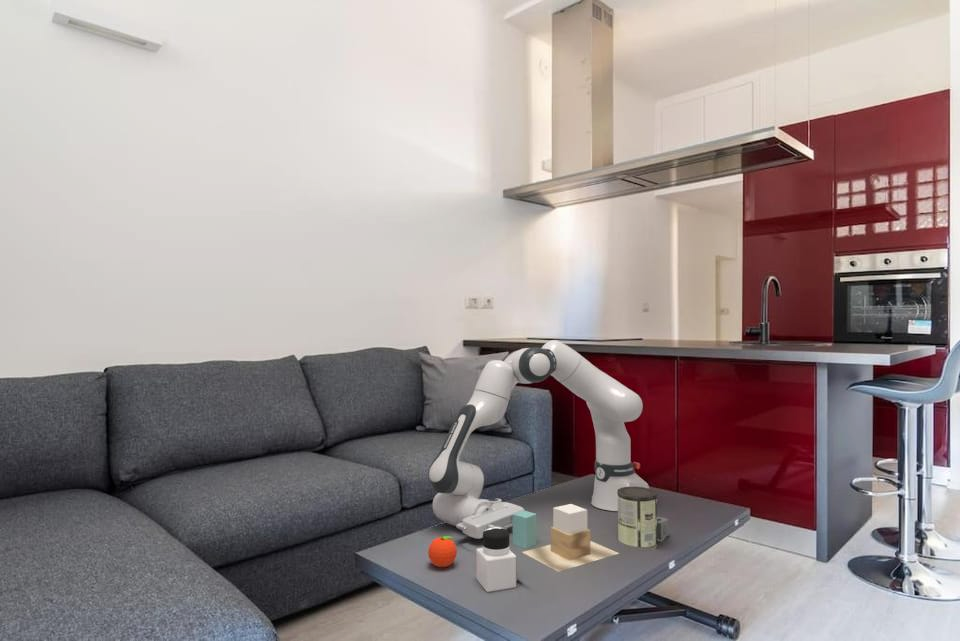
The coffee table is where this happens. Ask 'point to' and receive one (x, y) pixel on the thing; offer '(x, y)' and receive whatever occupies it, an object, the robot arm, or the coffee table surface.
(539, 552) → the birch board
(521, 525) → the teal block
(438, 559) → the clementine
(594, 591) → the coffee table surface
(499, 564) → the medicine bottle
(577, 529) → the white block
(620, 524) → the coffee can
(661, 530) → the dice cube
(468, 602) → the coffee table surface
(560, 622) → the coffee table surface
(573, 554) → the oak block
